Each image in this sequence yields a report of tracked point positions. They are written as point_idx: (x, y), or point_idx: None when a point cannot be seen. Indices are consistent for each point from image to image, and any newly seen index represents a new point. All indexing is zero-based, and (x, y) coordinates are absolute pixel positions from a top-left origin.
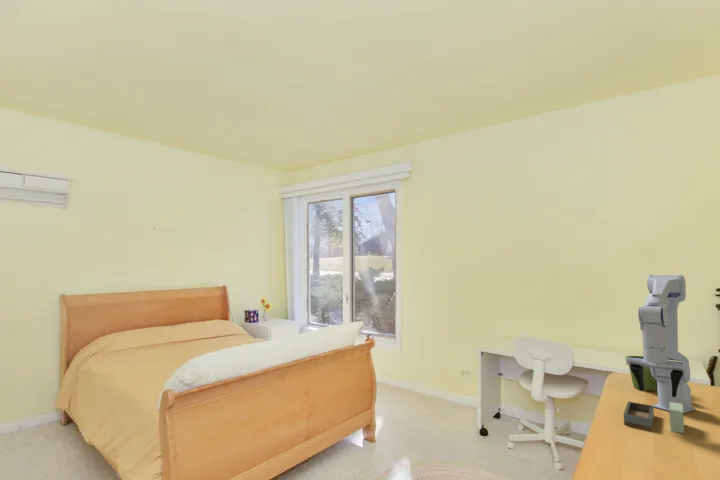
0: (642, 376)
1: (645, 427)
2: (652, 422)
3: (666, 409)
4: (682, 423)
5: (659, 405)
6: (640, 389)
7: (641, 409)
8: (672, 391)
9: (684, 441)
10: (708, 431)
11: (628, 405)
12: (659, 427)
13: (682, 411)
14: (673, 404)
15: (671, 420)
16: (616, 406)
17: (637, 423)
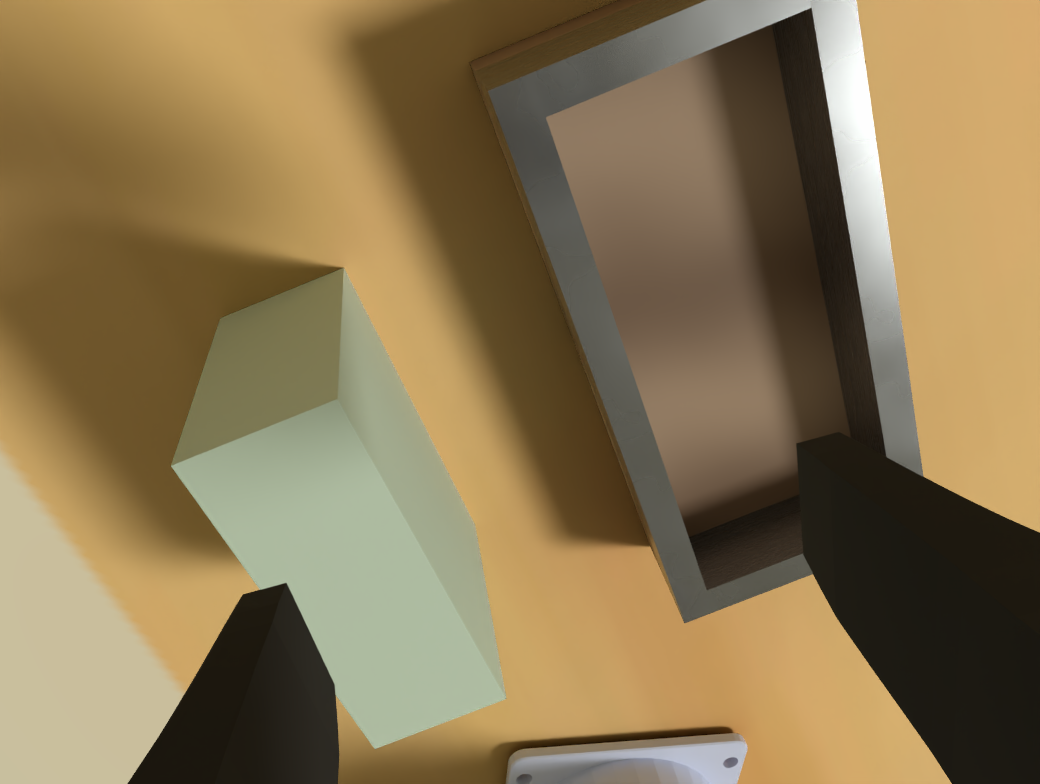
0: (982, 782)
1: (540, 36)
2: (549, 273)
3: (626, 748)
4: (214, 369)
5: (699, 776)
6: (847, 445)
7: (767, 518)
8: (247, 659)
9: (51, 34)
10: (149, 584)
11: (892, 398)
12: (467, 260)
13: (188, 480)
14: (426, 648)
15: (324, 327)
16: (995, 479)
17: (637, 2)
